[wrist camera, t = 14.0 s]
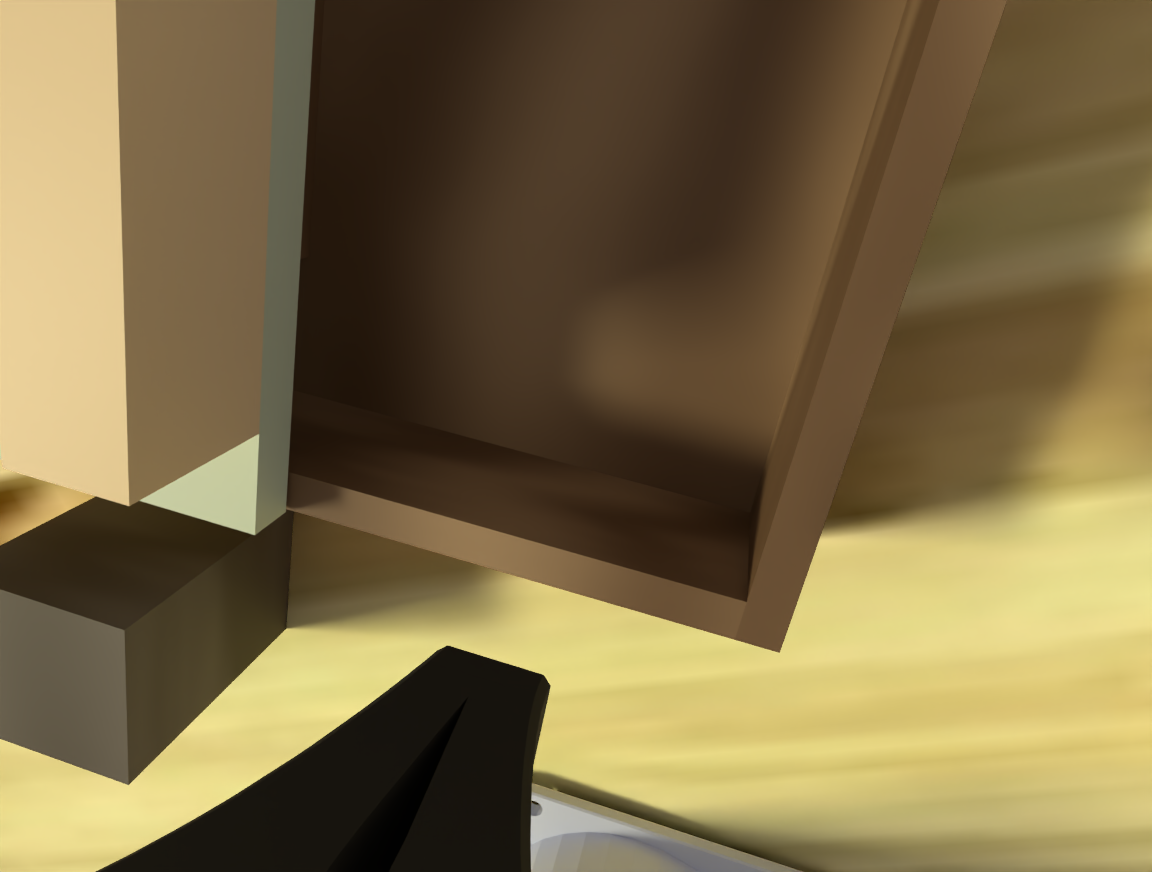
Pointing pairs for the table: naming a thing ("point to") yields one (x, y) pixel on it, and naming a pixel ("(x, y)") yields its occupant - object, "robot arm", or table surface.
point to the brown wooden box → (613, 278)
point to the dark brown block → (130, 627)
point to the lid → (153, 248)
